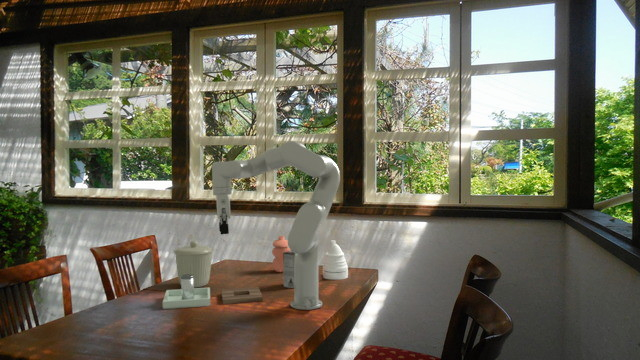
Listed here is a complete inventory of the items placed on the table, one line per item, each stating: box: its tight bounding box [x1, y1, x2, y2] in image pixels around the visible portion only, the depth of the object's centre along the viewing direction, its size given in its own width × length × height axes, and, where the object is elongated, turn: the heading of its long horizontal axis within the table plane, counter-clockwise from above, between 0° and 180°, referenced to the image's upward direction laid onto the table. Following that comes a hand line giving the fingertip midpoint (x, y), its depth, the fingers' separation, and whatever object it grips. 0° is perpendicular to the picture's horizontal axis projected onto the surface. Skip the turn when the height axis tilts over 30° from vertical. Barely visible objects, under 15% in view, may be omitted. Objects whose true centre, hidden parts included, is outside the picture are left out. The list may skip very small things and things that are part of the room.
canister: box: [173, 240, 215, 288], centre depth 215 cm, size 18×18×21 cm
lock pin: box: [180, 274, 194, 300], centre depth 188 cm, size 5×5×10 cm
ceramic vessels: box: [271, 235, 324, 282], centre depth 235 cm, size 35×21×19 cm, turn 37°
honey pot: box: [322, 239, 349, 281], centre depth 232 cm, size 13×13×18 cm
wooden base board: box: [221, 286, 264, 305], centre depth 194 cm, size 16×16×2 cm
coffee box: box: [283, 251, 295, 289], centre depth 214 cm, size 9×6×16 cm
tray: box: [162, 287, 211, 310], centre depth 188 cm, size 18×18×3 cm
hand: (223, 232), depth 189 cm, fingers open, 9 cm apart
